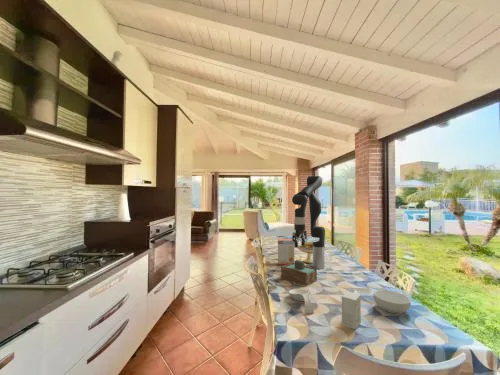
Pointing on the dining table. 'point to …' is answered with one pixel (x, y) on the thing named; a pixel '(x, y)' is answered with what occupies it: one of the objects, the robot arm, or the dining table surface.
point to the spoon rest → (302, 299)
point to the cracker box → (285, 251)
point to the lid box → (298, 275)
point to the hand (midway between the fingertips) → (299, 246)
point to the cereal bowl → (392, 301)
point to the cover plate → (301, 267)
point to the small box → (351, 310)
